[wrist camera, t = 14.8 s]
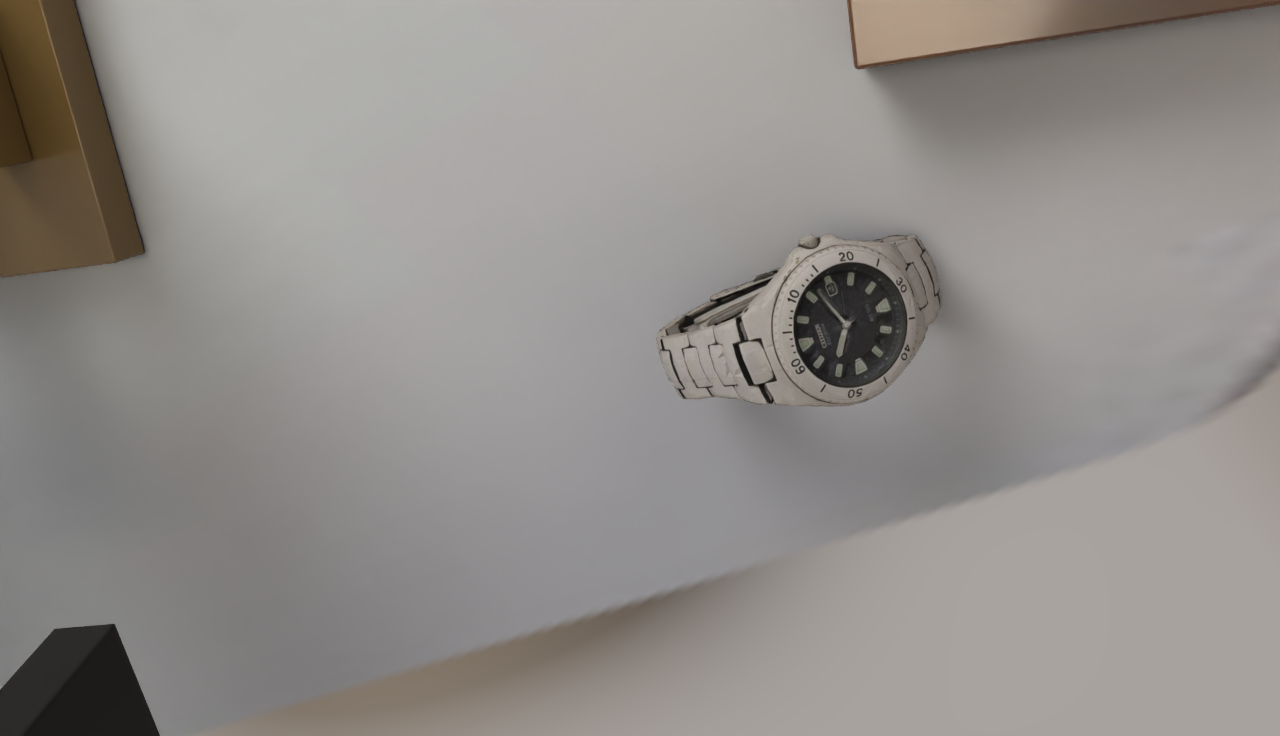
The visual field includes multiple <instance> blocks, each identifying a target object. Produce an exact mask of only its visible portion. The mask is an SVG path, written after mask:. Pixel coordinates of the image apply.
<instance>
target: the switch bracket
mask: <svg viewBox="0 0 1280 736" xmlns="http://www.w3.org/2000/svg"><path fill="white" fill-rule="evenodd" d="M143 253H144V249H143V246H142V242H141V239H140V235H139V232H138V228H137V224H136V221H135V217H134V214H133V210H132V207H131V203H130V199H129V196H128V192H127V189H126V185H125V182H124V178H123V174H122V171H121V167H120V164H119V160H118V157H117V153H116V149H115V146H114V142H113V139H112V135H111V132H110V128H109V124H108V121H107V117H106V114H105V110H104V107H103V103H102V99H101V96H100V92H99V89H98V85H97V82H96V78H95V74H94V71H93V67H92V64H91V60H90V57H89V53H88V50H87V46H86V42H85V39H84V35H83V32H82V28H81V25H80V21H79V17H78V14H77V10H76V7H75V3H74V0H0V278H3V277H10V276H18V275H26V274H33V273H41V272H48V271H56V270H64V269H71V268H79V267H86V266H94V265H102V264H109V263H116V262H119V261H122V260H125V259H128V258H131V257H134V256H138V255H141V254H143Z"/></svg>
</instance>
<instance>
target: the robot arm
mask: <svg viewBox="0 0 1280 736" xmlns="http://www.w3.org/2000/svg"><path fill="white" fill-rule="evenodd" d="M0 736H160V735H159V732H158V730H157V727H156V725H155V722H154V720H153V717H152V715H151V713H150V710H149V708H148V705H147V703H146V700H145V698H144V695H143V693H142V690H141V688H140V686H139V683H138V681H137V678H136V676H135V673H134V671H133V668H132V666H131V663H130V661H129V658H128V656H127V654H126V651H125V649H124V646H123V644H122V641H121V639H120V636H119V634H118V631H117V629H116V626H115V624H108V625H96V626H84V627H72V628H60V629H54V630H53V631H52V632H51V634H50V635H49V636H48V637H47V638H46V639H45V640H44V641H43V643H42V644H41V645H40V646H39V647H38V648H37V649H36V650H35V651H34V653H33V654H32V655H31V656H30V657H29V658H28V659H27V660H26V662H25V663H24V664H23V665H22V666H21V667H20V668H19V669H18V670H17V672H16V673H15V674H14V675H13V676H12V677H11V678H10V679H9V681H8V682H7V683H6V684H5V685H4V686H3V687H2V688H1V690H0Z"/></svg>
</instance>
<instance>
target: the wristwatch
mask: <svg viewBox="0 0 1280 736" xmlns="http://www.w3.org/2000/svg"><path fill="white" fill-rule="evenodd" d="M710 300H711V302H710V303H706V304H703V305H701V306H699V307H697V308H695V309H693V310H692V311H690V312H688V313H686V314H684V315H683V316H681V317H679V318H677V319H675V320H674V321H672V322H671V323H669V324H668V325H666V326H665V327H663V328H662V329H660V332H658V333H657V337H656V338H657V344H658V349H659V354H660V358H661V362H662V364H663V366H664V369H665V372H666V374H667V376H668V378H669V380H670V381H671V383H672V384H673V386H674V387H675V389H676V390H677V392H678V394H679V395H680V396H681V397H682V398H683V399H702V398H709V397H721V398H730V399H738V398H740V399H743V400H745V401H749V402H752V403H756V404H759V405H761V404H772V403H773V401H774V403H775V404H777V405H791V406H827V407H833V406H850V405H854V404H858V403H862V402H865V401H867V400H869V399H871V398H873V397H875V396H877V395H879V394H880V393H882V392H883V391H884V390H885V389H886V388H888V387H889V386H890V385H891V384H892V383H893V382H894V381H895V380H896V379H897V378H898V376H899V375H900V374H901V373H902V371H903V370H904V369H905V368H906V367H907V365H908V364H909V363H910V362H911V360H912V359H913V357H914V356H915V354H916V353H917V351H918V350H919V348H920V346H921V345H922V342H923V340H924V338H925V334H926V331H927V328H928V326H929V325H930V324H931V323H933V321H934V320H935V318H936V316H937V314H938V311H939V310H940V307H941V292H940V287H939V280H938V275H937V272H936V268H935V266H934V263H933V261H932V259H931V257H930V255H929V254H928V252H927V250H926V248H925V247H924V245H923V243H922V242H921V240H920V239H919V238H918V237H917V236H916V235H907V236H904V235H893V236H888V237H886V238H883V239H877V240H875V241H872V242H866V241H854V240H845V239H841V238H838V237H835V236H832V235H829V234H827V235H823V236H820V237H815V236H813V235H808V236H806V237H802V238H801V239H800V241H799V245H798V247H796V248H794V249H793V250H792V251H791V252H790V253H789V255H788V257H787V259H786V261H785V263H784V265H783V266H782V267H780V268H778V269H776V270H773V271H771V272H768V273H764V274H761V275H758V276H756V278H755V280H753V281H751V282H748V283H746V284H743V285H740V286H737V287H735V288H732V289H729V290H724V291H721V292H719V293H717V294H715V295H713V296H711V297H710Z"/></svg>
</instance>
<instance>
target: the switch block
mask: <svg viewBox="0 0 1280 736" xmlns="http://www.w3.org/2000/svg"><path fill="white" fill-rule="evenodd" d="M847 3H848V12H849V22H850V31H851V40H852V49H853V58H854V66H855V68H856V69H864V68H871V67H877V66H884V65H890V64H897V63H903V62H910V61H916V60H923V59H929V58H936V57H942V56H949V55H955V54H962V53H968V52H975V51H981V50H988V49H994V48H1001V47H1007V46H1014V45H1020V44H1027V43H1033V42H1040V41H1046V40H1053V39H1059V38H1066V37H1072V36H1079V35H1085V34H1092V33H1098V32H1105V31H1111V30H1118V29H1124V28H1131V27H1137V26H1144V25H1150V24H1157V23H1163V22H1170V21H1176V20H1183V19H1189V18H1196V17H1202V16H1209V15H1215V14H1222V13H1228V12H1235V11H1241V10H1248V9H1254V8H1261V7H1267V6H1274V5H1280V0H847Z"/></svg>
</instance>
